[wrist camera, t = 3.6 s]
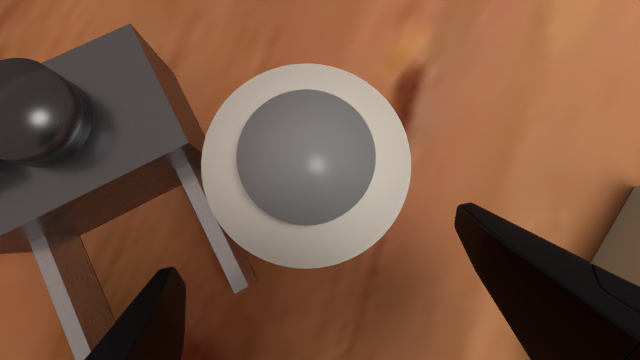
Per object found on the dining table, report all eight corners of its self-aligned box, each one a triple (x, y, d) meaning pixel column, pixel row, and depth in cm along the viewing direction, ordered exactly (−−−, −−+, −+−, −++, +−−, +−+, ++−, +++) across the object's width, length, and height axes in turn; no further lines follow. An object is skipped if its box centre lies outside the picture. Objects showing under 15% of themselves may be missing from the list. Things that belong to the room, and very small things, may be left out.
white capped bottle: (318, 264, 19) (330, 322, 7) (250, 212, 20) (144, 177, 7) (368, 195, 20) (461, 133, 8) (302, 146, 20) (286, 11, 8)
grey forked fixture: (272, 271, 19) (250, 291, 12) (92, 370, 18) (-40, 451, 11) (173, 73, 21) (107, -3, 14) (5, 151, 20) (-151, 110, 13)
